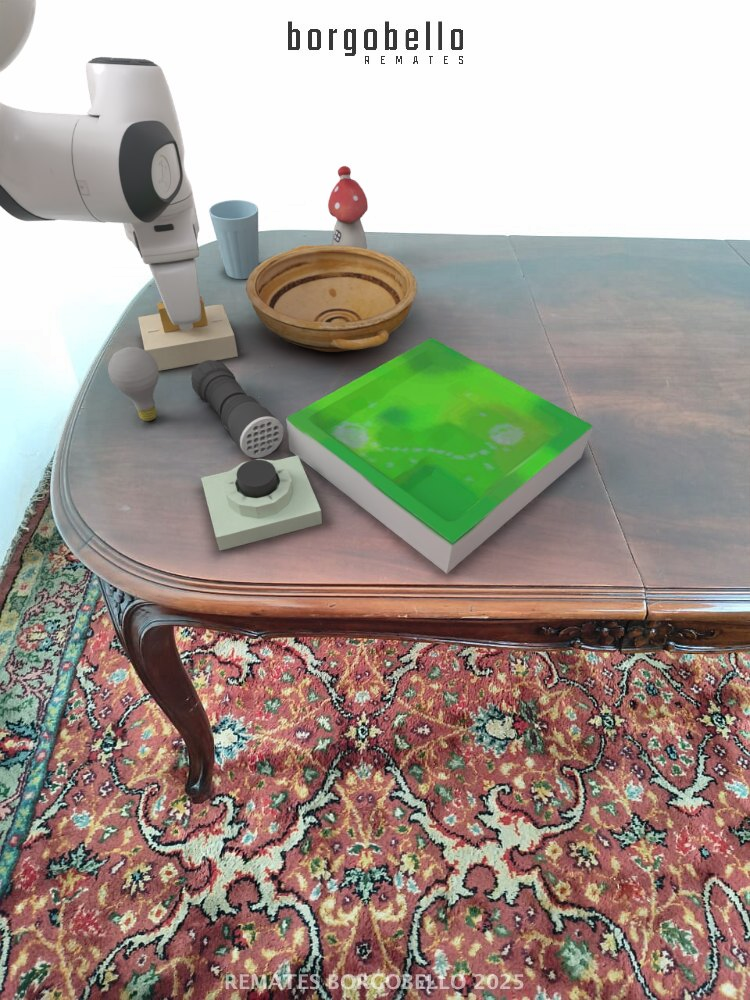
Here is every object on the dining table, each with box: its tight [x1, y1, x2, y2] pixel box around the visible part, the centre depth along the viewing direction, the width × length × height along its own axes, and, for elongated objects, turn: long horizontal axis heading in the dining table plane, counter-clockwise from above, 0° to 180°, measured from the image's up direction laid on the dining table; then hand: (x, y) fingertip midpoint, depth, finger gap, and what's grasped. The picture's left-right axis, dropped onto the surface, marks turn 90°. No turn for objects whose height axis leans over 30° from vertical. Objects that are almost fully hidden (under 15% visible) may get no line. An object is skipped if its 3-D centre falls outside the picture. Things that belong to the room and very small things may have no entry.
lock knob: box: [156, 295, 208, 332], centre depth 81 cm, size 6×2×4 cm, turn 111°
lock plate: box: [138, 303, 239, 372], centre depth 84 cm, size 12×9×4 cm
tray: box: [285, 337, 594, 575], centre depth 69 cm, size 25×25×5 cm
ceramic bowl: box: [245, 244, 418, 353], centre depth 86 cm, size 30×24×8 cm
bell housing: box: [200, 455, 323, 552], centre depth 63 cm, size 11×9×4 cm
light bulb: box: [107, 346, 160, 422], centre depth 71 cm, size 5×6×10 cm
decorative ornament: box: [327, 165, 369, 249], centre depth 99 cm, size 9×7×15 cm
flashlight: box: [190, 360, 284, 459], centre depth 72 cm, size 15×5×5 cm, turn 36°
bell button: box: [237, 459, 277, 498], centre depth 61 cm, size 4×4×2 cm
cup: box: [208, 199, 260, 280], centre depth 98 cm, size 8×8×10 cm
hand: (184, 320), depth 82 cm, fingers open, 3 cm apart
